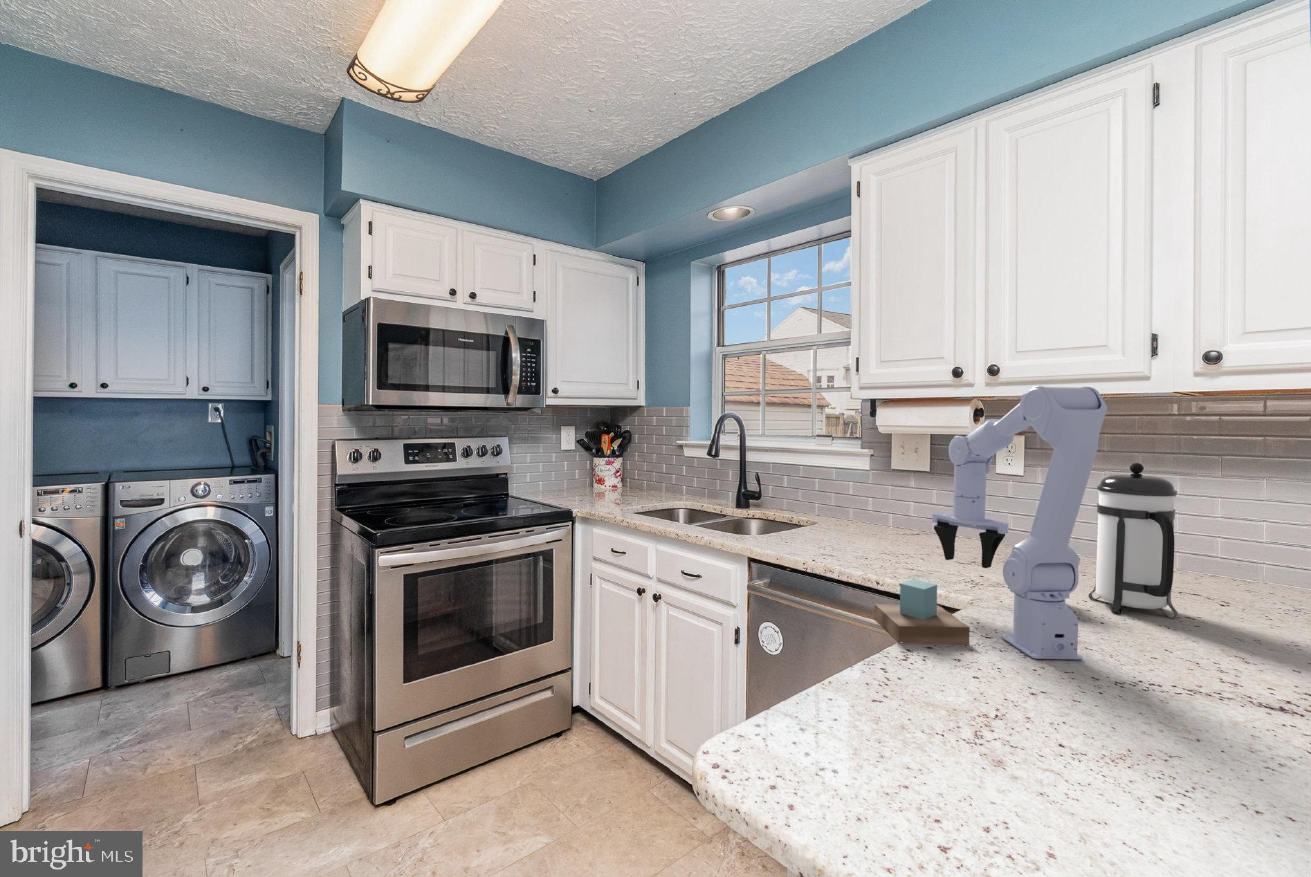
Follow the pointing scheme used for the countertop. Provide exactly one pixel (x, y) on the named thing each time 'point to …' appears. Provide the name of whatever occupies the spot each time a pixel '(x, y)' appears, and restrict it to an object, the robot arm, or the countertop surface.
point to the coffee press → (1135, 541)
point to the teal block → (918, 599)
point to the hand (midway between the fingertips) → (967, 563)
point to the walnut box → (921, 626)
